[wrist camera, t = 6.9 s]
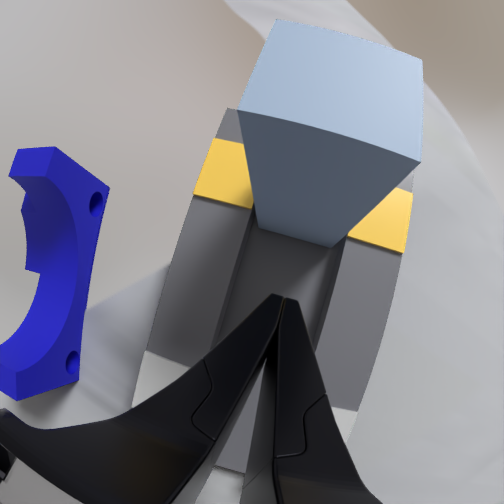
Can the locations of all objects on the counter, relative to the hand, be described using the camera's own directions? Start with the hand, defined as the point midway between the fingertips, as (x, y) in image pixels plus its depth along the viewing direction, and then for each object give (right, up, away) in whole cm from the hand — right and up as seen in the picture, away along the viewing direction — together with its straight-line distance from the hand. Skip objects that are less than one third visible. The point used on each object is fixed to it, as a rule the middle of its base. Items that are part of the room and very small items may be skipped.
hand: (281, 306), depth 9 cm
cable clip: (-13, 0, +8) cm, 15 cm away
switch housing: (0, -1, +6) cm, 7 cm away
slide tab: (+2, +4, +6) cm, 7 cm away
